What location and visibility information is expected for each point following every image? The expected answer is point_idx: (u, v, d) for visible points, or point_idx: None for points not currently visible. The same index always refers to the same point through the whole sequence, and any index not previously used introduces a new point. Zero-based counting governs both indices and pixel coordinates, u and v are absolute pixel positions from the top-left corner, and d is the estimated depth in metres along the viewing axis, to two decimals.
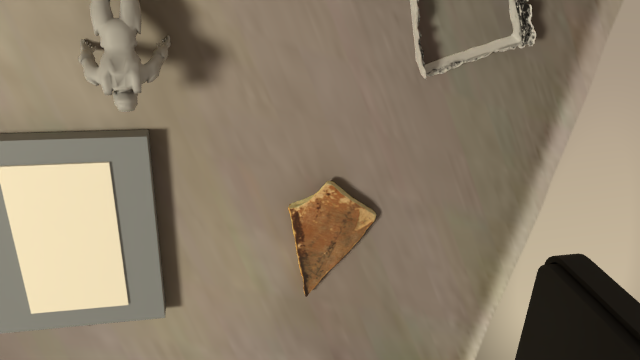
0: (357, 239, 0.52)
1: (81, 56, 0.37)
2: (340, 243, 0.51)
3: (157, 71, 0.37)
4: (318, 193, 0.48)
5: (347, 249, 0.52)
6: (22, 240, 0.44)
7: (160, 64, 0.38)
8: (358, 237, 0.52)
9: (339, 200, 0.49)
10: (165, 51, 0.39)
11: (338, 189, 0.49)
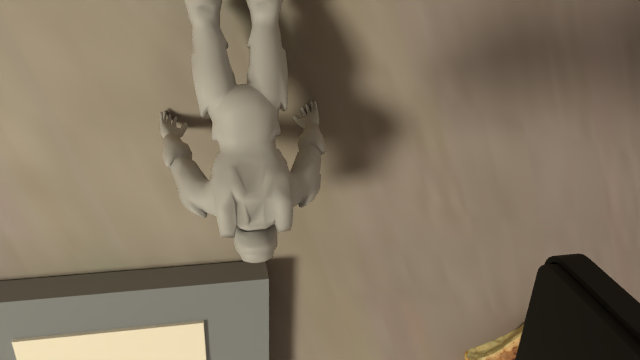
0: None
1: (169, 154, 0.19)
2: None
3: (318, 184, 0.19)
4: (518, 339, 0.31)
5: None
6: None
7: (319, 167, 0.20)
8: None
9: None
10: (322, 138, 0.21)
11: None
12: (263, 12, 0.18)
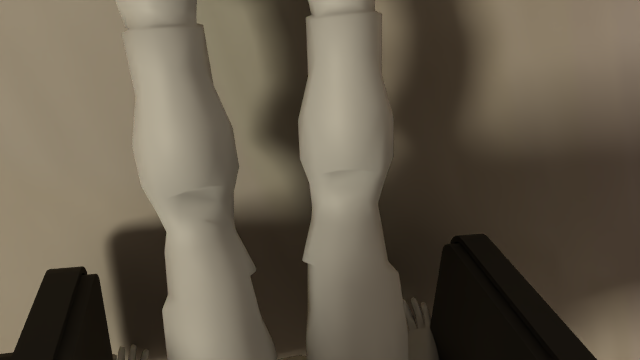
0: None
1: None
2: None
3: None
4: None
5: None
6: None
7: None
8: None
9: None
10: None
11: None
12: (345, 189, 0.07)
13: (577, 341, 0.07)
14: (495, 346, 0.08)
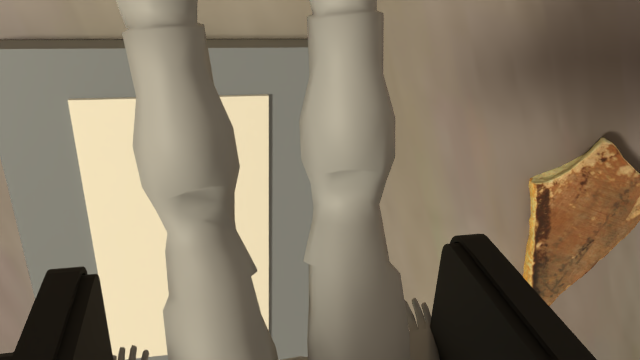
0: (624, 234, 0.32)
1: None
2: (599, 241, 0.32)
3: None
4: (588, 158, 0.29)
5: (606, 250, 0.32)
6: (106, 238, 0.25)
7: None
8: (627, 231, 0.32)
9: (618, 170, 0.30)
10: None
11: None
12: (347, 190, 0.07)
13: (576, 341, 0.07)
14: (495, 346, 0.08)
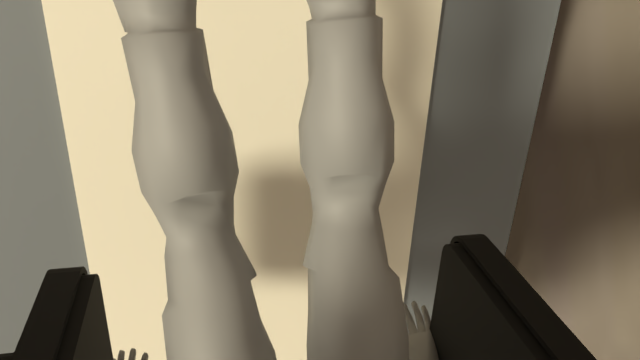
0: None
1: None
2: None
3: None
4: None
5: None
6: (110, 219, 0.12)
7: None
8: None
9: None
10: None
11: None
12: (346, 194, 0.07)
13: (577, 341, 0.07)
14: (495, 346, 0.08)
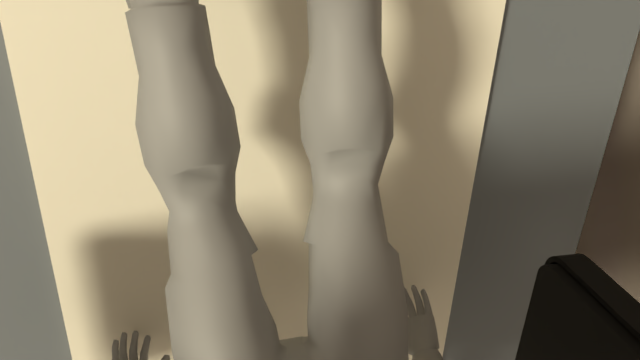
0: None
1: None
2: None
3: None
4: None
5: None
6: (93, 282, 0.10)
7: None
8: None
9: None
10: None
11: None
12: (346, 169, 0.07)
13: None
14: None
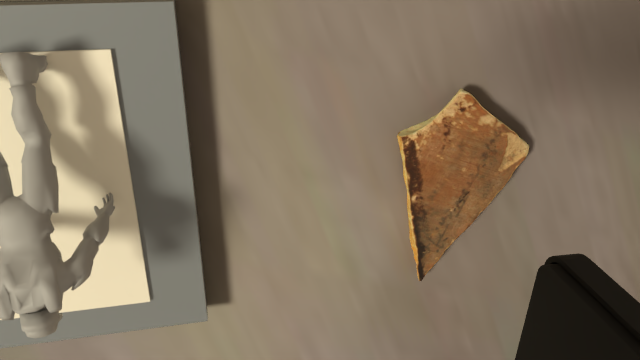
0: (500, 186, 0.33)
1: None
2: (475, 193, 0.33)
3: (87, 270, 0.24)
4: (447, 108, 0.30)
5: (484, 203, 0.34)
6: None
7: (93, 255, 0.24)
8: (502, 183, 0.33)
9: (479, 120, 0.31)
10: (102, 229, 0.25)
11: None
12: (29, 138, 0.23)
13: None
14: None
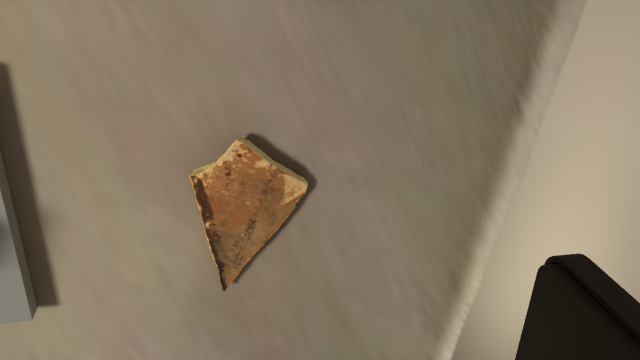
0: (285, 216, 0.40)
1: None
2: (262, 221, 0.40)
3: None
4: (226, 154, 0.37)
5: (272, 229, 0.40)
6: None
7: None
8: (286, 214, 0.40)
9: (255, 164, 0.37)
10: None
11: (253, 149, 0.37)
12: None
13: None
14: None
